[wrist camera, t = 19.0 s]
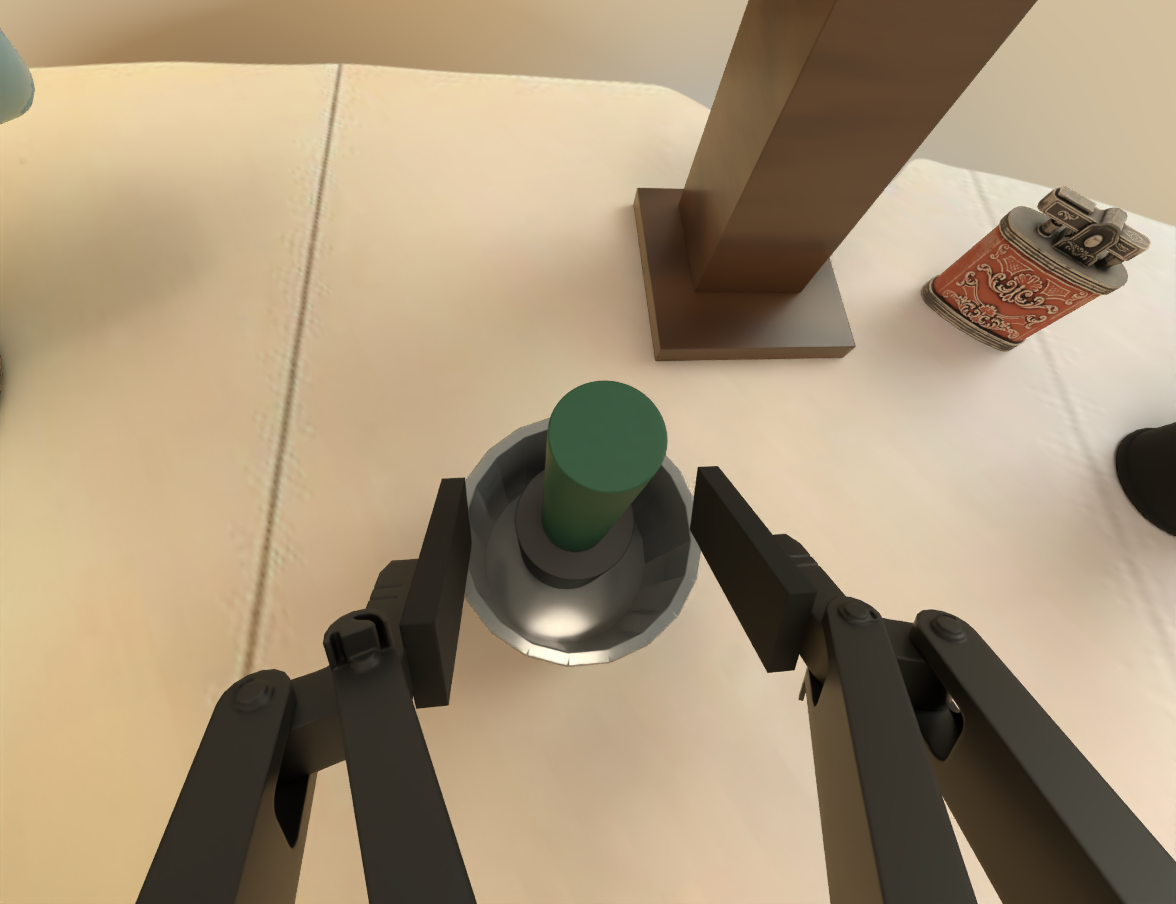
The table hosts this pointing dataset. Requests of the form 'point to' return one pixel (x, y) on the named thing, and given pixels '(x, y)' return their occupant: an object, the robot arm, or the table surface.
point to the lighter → (1035, 269)
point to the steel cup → (597, 610)
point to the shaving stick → (589, 483)
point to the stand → (800, 167)
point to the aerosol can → (1151, 473)
